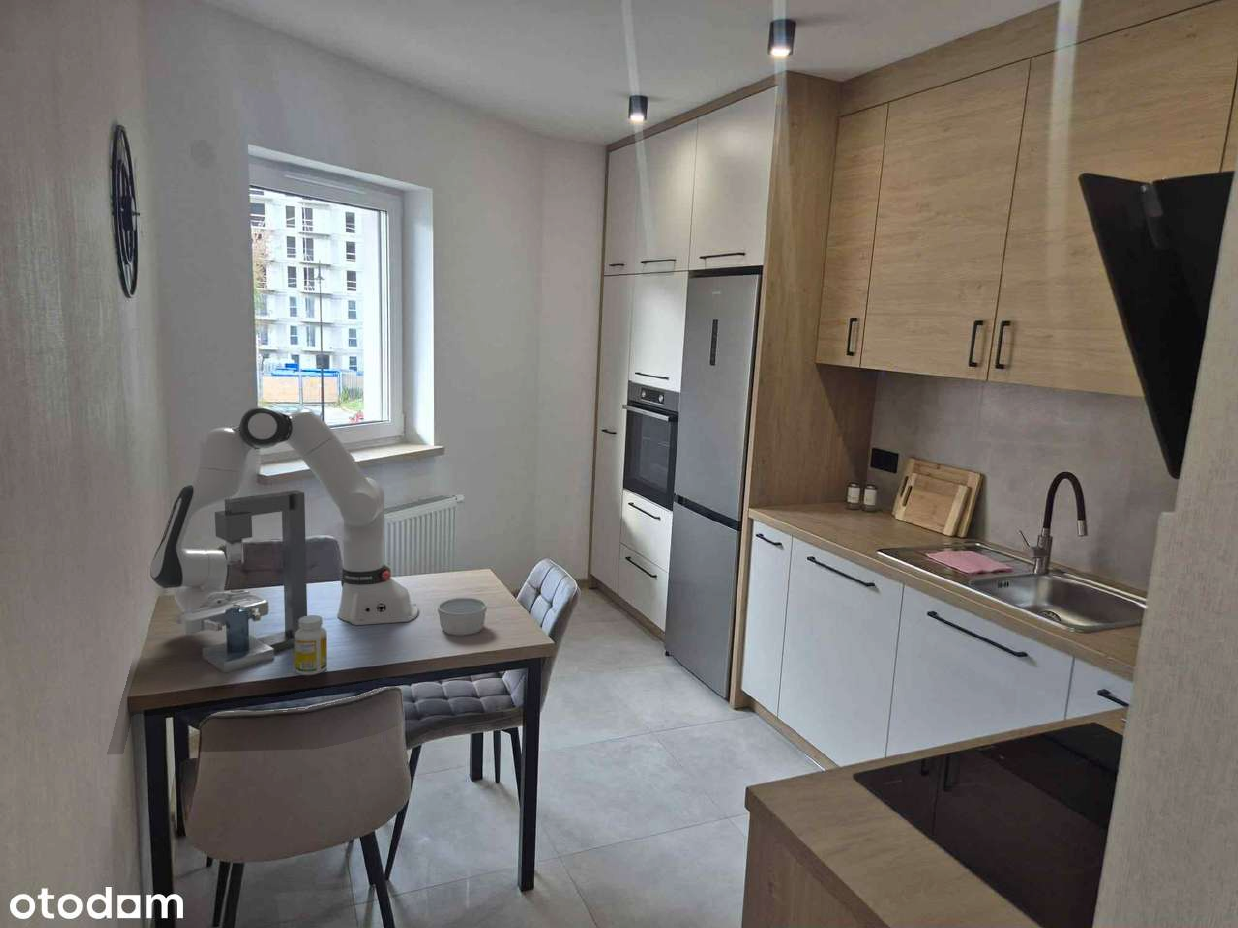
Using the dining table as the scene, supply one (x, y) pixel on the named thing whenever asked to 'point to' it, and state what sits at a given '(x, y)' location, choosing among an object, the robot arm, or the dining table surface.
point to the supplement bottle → (310, 646)
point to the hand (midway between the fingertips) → (238, 622)
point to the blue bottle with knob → (237, 629)
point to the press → (239, 526)
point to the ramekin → (462, 616)
